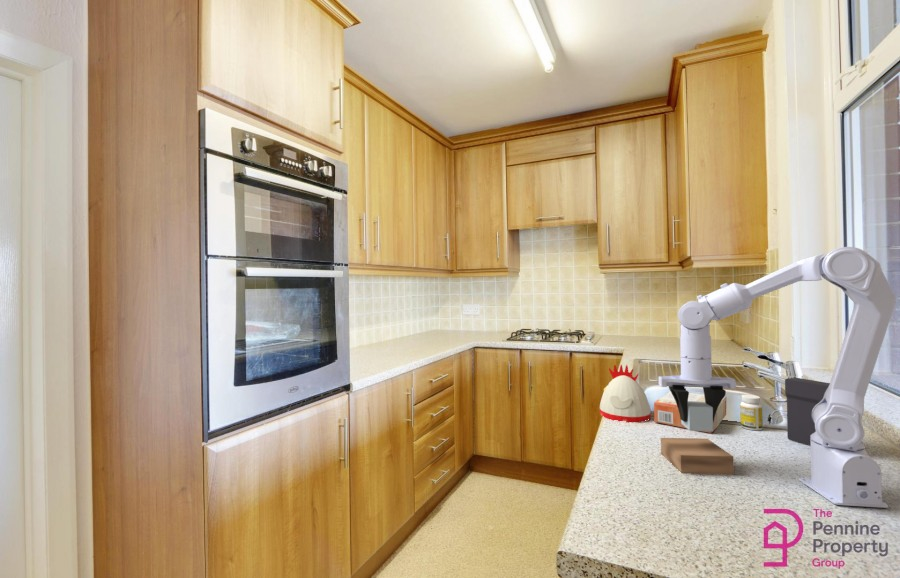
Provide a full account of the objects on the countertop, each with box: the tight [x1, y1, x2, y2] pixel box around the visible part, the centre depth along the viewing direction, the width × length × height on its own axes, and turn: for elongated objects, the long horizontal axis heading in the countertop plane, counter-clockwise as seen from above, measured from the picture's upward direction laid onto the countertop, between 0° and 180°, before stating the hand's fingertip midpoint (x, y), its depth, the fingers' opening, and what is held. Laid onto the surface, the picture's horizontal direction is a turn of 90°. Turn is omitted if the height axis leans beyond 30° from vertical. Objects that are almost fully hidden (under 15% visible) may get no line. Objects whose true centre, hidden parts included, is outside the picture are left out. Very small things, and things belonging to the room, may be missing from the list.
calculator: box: [784, 377, 830, 447], centre depth 97 cm, size 11×4×15 cm, turn 22°
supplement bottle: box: [739, 394, 764, 431], centre depth 110 cm, size 5×5×8 cm
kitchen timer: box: [599, 364, 652, 423], centre depth 123 cm, size 14×14×15 cm
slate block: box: [681, 401, 714, 432], centre depth 89 cm, size 4×4×5 cm
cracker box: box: [653, 389, 727, 434], centre depth 118 cm, size 14×6×21 cm
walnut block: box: [660, 437, 735, 476], centre depth 88 cm, size 10×10×4 cm
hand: (696, 420), depth 89 cm, fingers closed on slate block, 4 cm apart
